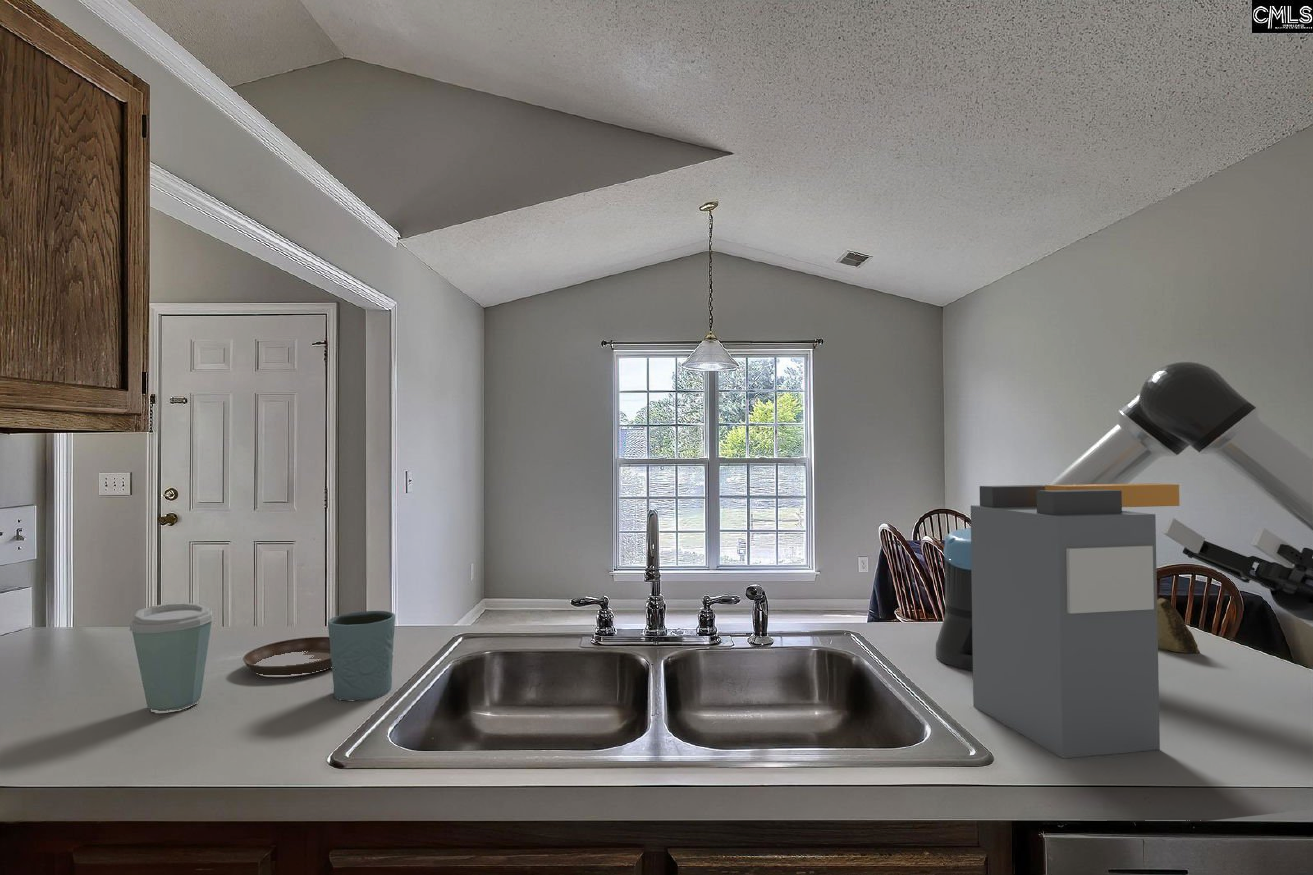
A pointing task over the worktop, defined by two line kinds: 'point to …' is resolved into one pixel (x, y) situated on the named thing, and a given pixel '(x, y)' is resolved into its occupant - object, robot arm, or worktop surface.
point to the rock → (1173, 630)
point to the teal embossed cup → (362, 654)
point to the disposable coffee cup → (172, 653)
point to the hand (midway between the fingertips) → (1209, 530)
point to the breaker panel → (1066, 618)
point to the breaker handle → (1134, 493)
